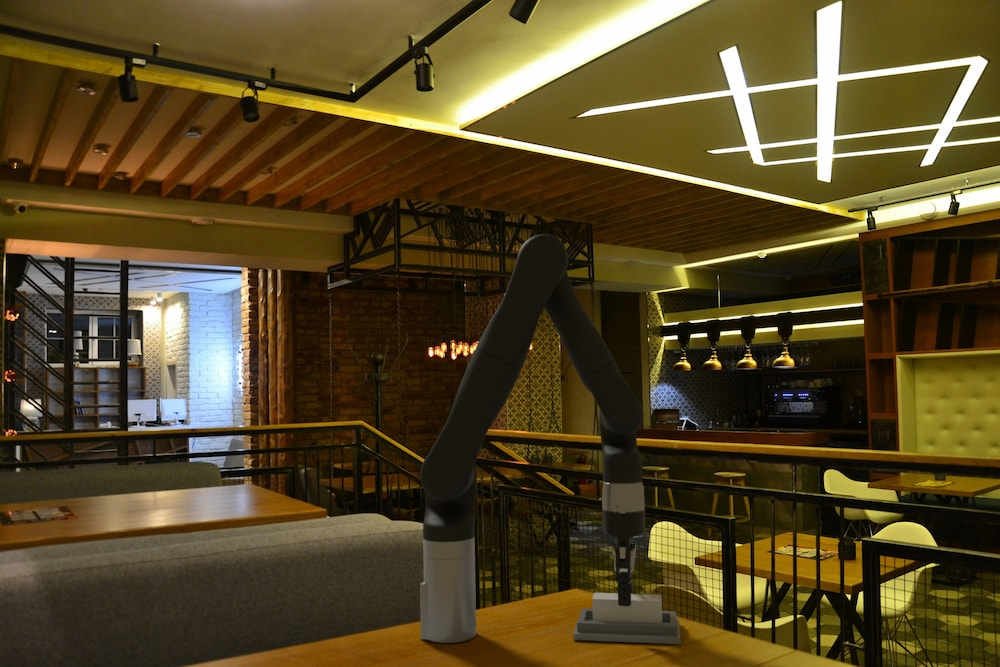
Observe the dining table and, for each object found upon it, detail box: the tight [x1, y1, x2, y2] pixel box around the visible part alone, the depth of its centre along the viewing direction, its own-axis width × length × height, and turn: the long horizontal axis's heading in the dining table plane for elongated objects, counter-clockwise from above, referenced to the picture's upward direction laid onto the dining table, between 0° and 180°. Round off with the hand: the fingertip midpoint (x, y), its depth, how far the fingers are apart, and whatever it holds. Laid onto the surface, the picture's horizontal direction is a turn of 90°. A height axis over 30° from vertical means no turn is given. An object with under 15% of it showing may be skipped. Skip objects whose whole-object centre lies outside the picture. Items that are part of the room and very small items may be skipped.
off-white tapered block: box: [591, 592, 663, 624], centre depth 138 cm, size 4×12×5 cm, turn 78°
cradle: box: [573, 607, 682, 645], centre depth 137 cm, size 12×18×2 cm, turn 79°
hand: (625, 599), depth 138 cm, fingers open, 8 cm apart
